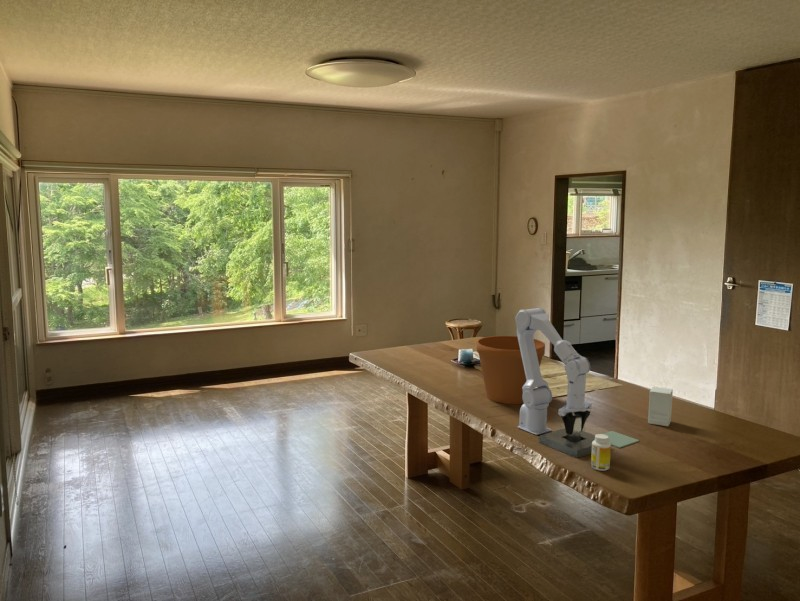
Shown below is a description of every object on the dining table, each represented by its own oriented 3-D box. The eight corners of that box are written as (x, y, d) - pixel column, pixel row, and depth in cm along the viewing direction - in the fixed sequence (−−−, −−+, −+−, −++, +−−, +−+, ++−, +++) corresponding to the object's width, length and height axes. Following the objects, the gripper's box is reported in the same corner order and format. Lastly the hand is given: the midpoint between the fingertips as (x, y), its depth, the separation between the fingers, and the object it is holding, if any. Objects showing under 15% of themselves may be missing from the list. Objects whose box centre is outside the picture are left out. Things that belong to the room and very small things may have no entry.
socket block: (539, 442, 213) (539, 435, 213) (570, 433, 222) (570, 426, 222) (576, 458, 200) (577, 450, 200) (608, 447, 209) (608, 440, 209)
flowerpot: (548, 392, 271) (551, 339, 267) (534, 411, 245) (536, 353, 242) (486, 384, 282) (488, 333, 279) (466, 401, 257) (467, 346, 254)
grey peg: (563, 441, 212) (565, 415, 210) (572, 438, 214) (574, 413, 213) (574, 445, 208) (575, 419, 207) (583, 442, 210) (584, 417, 209)
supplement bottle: (612, 467, 193) (614, 436, 191) (604, 473, 189) (606, 440, 187) (595, 462, 197) (597, 431, 195) (587, 467, 193) (589, 436, 191)
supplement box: (671, 421, 235) (673, 388, 234) (668, 427, 229) (670, 393, 227) (650, 417, 239) (652, 385, 237) (647, 423, 233) (649, 390, 231)
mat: (592, 438, 217) (592, 437, 217) (612, 431, 224) (612, 430, 224) (619, 448, 209) (619, 447, 208) (639, 441, 215) (639, 440, 215)
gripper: (571, 400, 201) (569, 440, 203) (599, 392, 209) (597, 431, 211) (554, 394, 207) (552, 433, 209) (582, 387, 215) (580, 425, 217)
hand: (574, 432), depth 210 cm, fingers closed on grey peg, 4 cm apart
